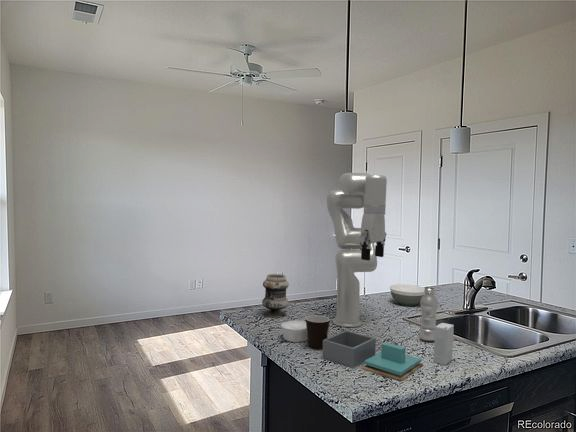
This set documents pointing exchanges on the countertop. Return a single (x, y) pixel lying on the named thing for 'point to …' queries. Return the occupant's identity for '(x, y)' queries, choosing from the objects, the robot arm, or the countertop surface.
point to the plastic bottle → (428, 315)
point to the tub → (349, 348)
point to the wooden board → (390, 375)
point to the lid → (392, 360)
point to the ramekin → (294, 331)
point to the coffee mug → (317, 331)
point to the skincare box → (443, 343)
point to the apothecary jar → (275, 295)
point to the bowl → (407, 294)
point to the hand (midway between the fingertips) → (372, 258)
